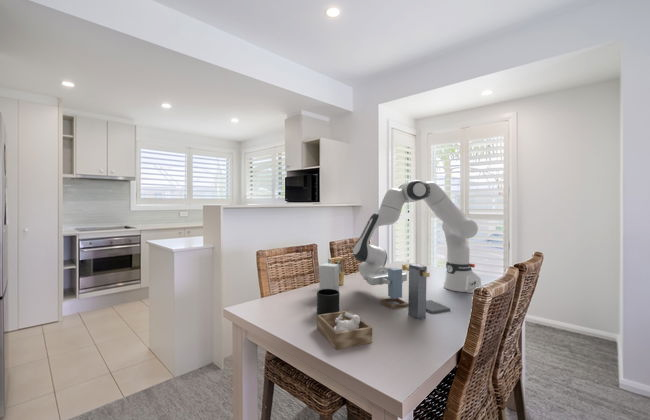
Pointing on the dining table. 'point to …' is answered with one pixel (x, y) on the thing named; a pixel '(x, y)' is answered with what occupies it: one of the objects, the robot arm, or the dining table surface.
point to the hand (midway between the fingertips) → (396, 282)
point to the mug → (327, 301)
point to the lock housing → (417, 291)
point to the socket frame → (384, 301)
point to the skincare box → (329, 276)
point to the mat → (435, 307)
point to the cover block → (395, 282)
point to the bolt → (423, 273)
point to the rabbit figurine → (347, 323)
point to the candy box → (341, 267)
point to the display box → (347, 337)
